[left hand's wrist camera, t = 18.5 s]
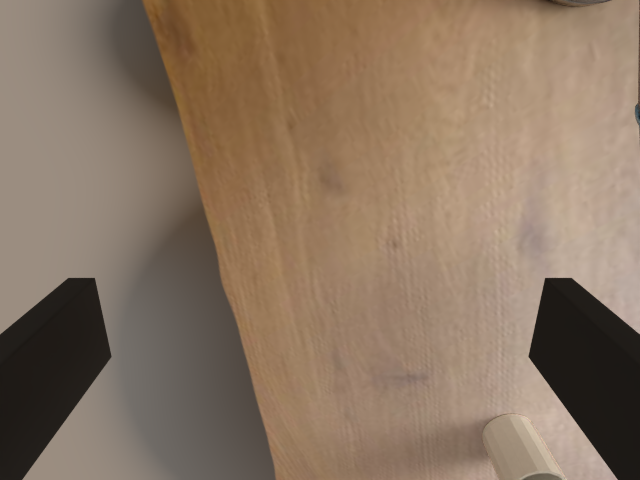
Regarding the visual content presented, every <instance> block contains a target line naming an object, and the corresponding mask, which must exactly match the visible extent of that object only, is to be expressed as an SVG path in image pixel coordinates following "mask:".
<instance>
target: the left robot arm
mask: <svg viewBox="0 0 640 480" xmlns="http://www.w3.org/2000/svg"><path fill="white" fill-rule="evenodd" d="M549 1H552V2H554V3H557V4H561V5H566V6H588V5H594V4H598V3H602V2H606V1H610V0H549ZM635 117H636V120H637V123H638V125H639V138H640V0H639V81H638V104H637V105H636V107H635ZM110 358H111V352H110V347H109V343H108V338H107V333H106V329H105V324H104V319H103V315H102V310H101V305H100V300H99V296H98V291H97V286H96V282H95V278H68V279H67V280H66V281H64V282H63V283H62V284H61V285H60V286H58V287H57V288H56V289H55V290H54V291H52V292H51V293H50V294H49V295H47V296H46V297H45V298H44V299H43V300H41V301H40V302H39V303H38V304H37V305H35V306H34V307H33V308H32V309H30V310H29V311H28V312H27V313H26V314H24V315H23V316H22V317H21V318H20V319H18V320H17V321H16V322H15V323H14V324H12V325H11V326H10V327H9V328H8V329H6V330H5V331H4V332H3V333H2V334H0V480H22V479H23V478H24V476H25V475H26V474H27V472H28V471H29V470H30V468H31V467H32V465H33V464H34V463H35V461H36V460H37V458H38V457H39V456H40V454H41V453H42V452H43V450H44V449H45V448H46V446H47V445H48V443H49V442H50V441H51V439H52V438H53V437H54V435H55V434H56V432H57V431H58V430H59V428H60V427H61V425H62V424H63V423H64V421H65V420H66V419H67V417H68V416H69V414H70V413H71V412H72V410H73V409H74V408H75V406H76V405H77V403H78V402H79V401H80V399H81V398H82V396H83V395H84V394H85V392H86V391H87V390H88V388H89V387H90V386H91V384H92V383H93V381H94V380H95V379H96V377H97V376H98V375H99V373H100V372H101V370H102V369H103V368H104V366H105V365H106V364H107V362H108V361H109V359H110ZM529 358H530V359H531V361H532V362H533V364H534V365H535V366H536V368H537V369H538V370H539V372H540V373H541V375H542V376H543V377H544V379H545V380H546V381H547V383H548V384H549V386H550V387H551V388H552V390H553V391H554V392H555V394H556V395H557V397H558V398H559V399H560V401H561V402H562V403H563V405H564V406H565V408H566V409H567V410H568V412H569V413H570V415H571V416H572V417H573V419H574V420H575V421H576V423H577V424H578V426H579V427H580V428H581V430H582V431H583V432H584V434H585V435H586V437H587V438H588V439H589V441H590V442H591V443H592V445H593V446H594V448H595V449H596V450H597V452H598V453H599V454H600V456H601V457H602V459H603V460H604V461H605V463H606V464H607V465H608V467H609V468H610V470H611V471H612V472H613V474H614V475H615V476H616V478H617V479H618V480H640V334H638V333H637V332H636V331H635V330H634V329H632V328H631V327H630V326H629V325H628V324H626V323H625V322H624V321H623V320H622V319H620V318H619V317H618V316H617V315H616V314H614V313H613V312H612V311H611V310H610V309H608V308H607V307H606V306H605V305H603V304H602V303H601V302H600V301H599V300H597V299H596V298H595V297H594V296H593V295H591V294H590V293H589V292H588V291H587V290H585V289H584V288H583V287H582V286H581V285H579V284H578V283H577V282H576V281H574V280H573V279H572V278H545V282H544V286H543V291H542V296H541V300H540V305H539V310H538V315H537V319H536V324H535V329H534V333H533V338H532V343H531V347H530V352H529Z"/></svg>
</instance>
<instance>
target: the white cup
mask: <svg viewBox="0 0 640 480" xmlns="http://www.w3.org/2000/svg"><path fill="white" fill-rule="evenodd" d="M482 441H483V444H484V446H485V449H486V451H487V453H488V456H489V458H490V460H491V463H492V465H493V467H494V469H495V472H496V474H497V476H498V479H499V480H567V479H566V477H565V475H564V474H563V472H562V470H561V469H560V467H559V466H558V464H557V462H556V461H555V459H554V457H553V456H552V454H551V452H550V451H549V449H548V447H547V446H546V444H545V442H544V441H543V439H542V437H541V436H540V434H539V432H538V431H537V429H536V427H535V426H534V425H533V423H532V422H531V421H530V420H529V419H528V418H526V417H525V416H522V415H519V414H505V415H501V416H499V417H497V418H495V419H493V420H492V421H490V422H489V423H488V424H487V425H486V426H485V428H484V430H483V433H482Z"/></svg>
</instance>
